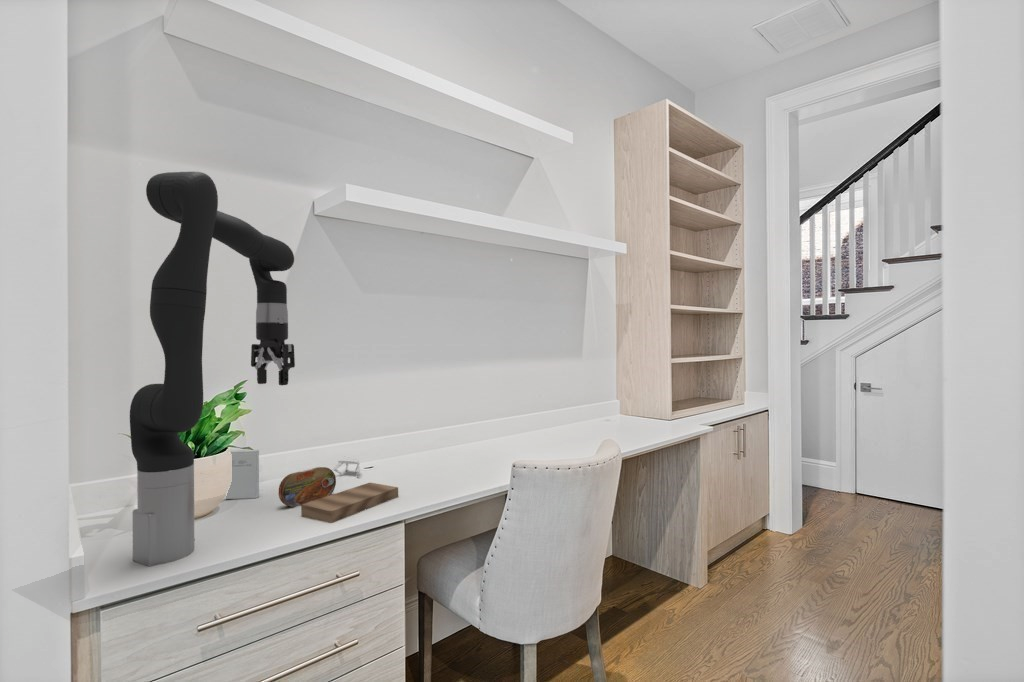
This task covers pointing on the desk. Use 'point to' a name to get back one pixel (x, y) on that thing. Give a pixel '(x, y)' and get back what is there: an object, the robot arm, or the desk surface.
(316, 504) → the walnut riser
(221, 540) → the desk surface
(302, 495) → the tin
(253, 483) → the external hard drive
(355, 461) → the origami figure
